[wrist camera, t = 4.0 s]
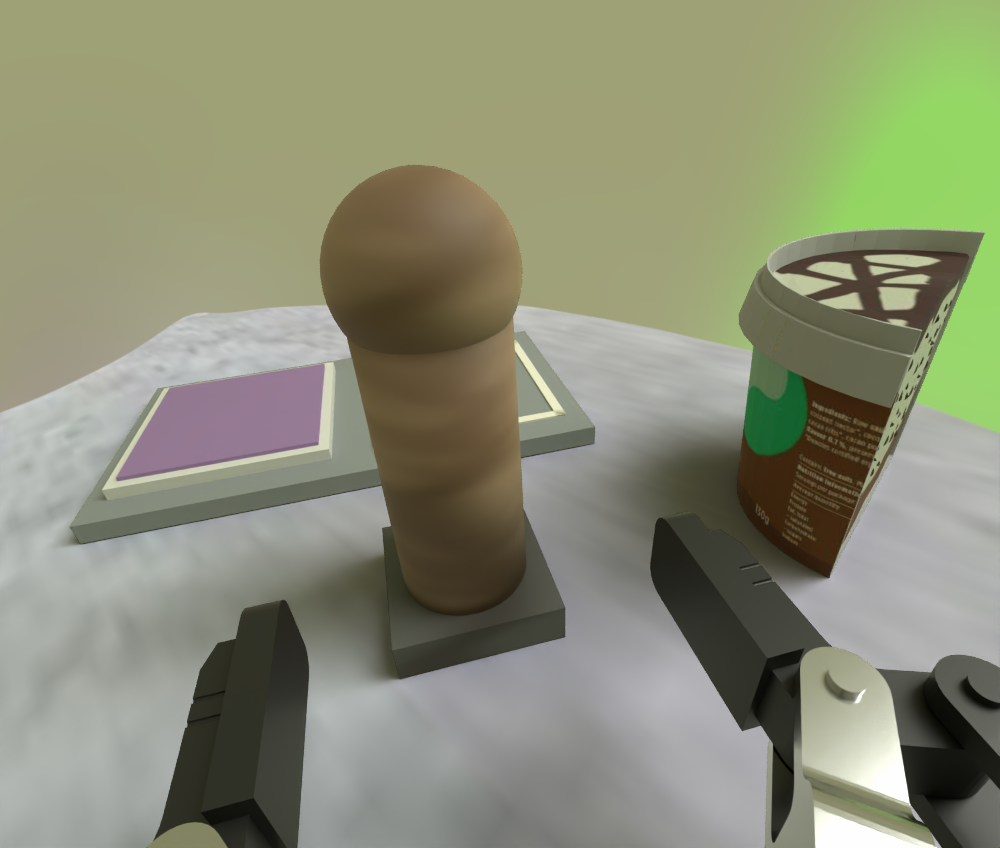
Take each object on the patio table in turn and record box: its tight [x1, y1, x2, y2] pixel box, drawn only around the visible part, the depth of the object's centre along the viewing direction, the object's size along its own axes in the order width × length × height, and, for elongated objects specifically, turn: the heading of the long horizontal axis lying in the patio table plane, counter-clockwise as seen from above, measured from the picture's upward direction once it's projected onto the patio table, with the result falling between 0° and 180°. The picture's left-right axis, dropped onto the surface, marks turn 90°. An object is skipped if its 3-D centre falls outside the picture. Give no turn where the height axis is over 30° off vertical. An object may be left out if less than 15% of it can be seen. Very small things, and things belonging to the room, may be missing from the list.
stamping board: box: [70, 331, 595, 544], centre depth 31 cm, size 24×13×2 cm, turn 104°
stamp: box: [320, 165, 565, 679], centre depth 16 cm, size 6×6×14 cm
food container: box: [737, 228, 985, 578], centre depth 22 cm, size 12×6×10 cm, turn 137°
